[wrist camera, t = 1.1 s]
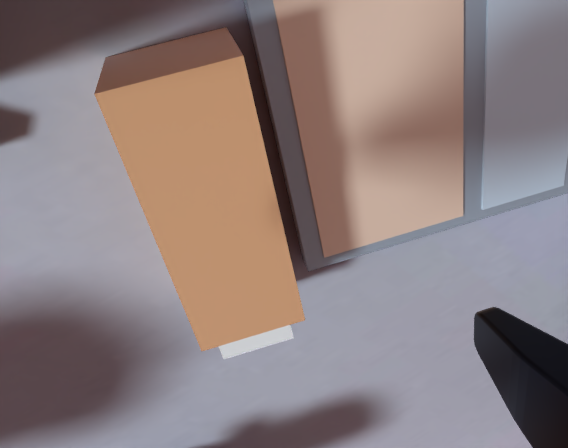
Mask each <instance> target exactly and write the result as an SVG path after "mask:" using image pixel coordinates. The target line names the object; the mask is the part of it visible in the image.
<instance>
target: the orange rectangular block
mask: <svg viewBox="0 0 568 448" xmlns="http://www.w3.org/2000/svg"><path fill="white" fill-rule="evenodd" d="M95 97H96V99H97V101H98V104H99V106H100V109H101V111H102V113H103V116H104V118H105V121H106V123H107V125H108V128H109V130H110V133H111V135H112V137H113V140H114V142H115V144H116V147H117V149H118V152H119V154H120V156H121V159H122V161H123V164H124V166H125V168H126V171H127V173H128V176H129V178H130V180H131V183H132V185H133V188H134V190H135V192H136V195H137V197H138V200H139V202H140V204H141V207H142V209H143V212H144V214H145V216H146V219H147V221H148V224H149V226H150V228H151V231H152V233H153V236H154V238H155V240H156V243H157V245H158V248H159V250H160V252H161V255H162V257H163V260H164V262H165V264H166V267H167V269H168V272H169V274H170V276H171V279H172V281H173V284H174V286H175V288H176V291H177V293H178V296H179V298H180V300H181V303H182V305H183V308H184V310H185V312H186V315H187V317H188V319H189V322H190V324H191V327H192V329H193V331H194V334H195V336H196V339H197V341H198V343H199V346H200V348H201V351H205V350H208V349H211V348H215V347H218V346H219V349H220V351H221V354H222V356H223V359H227V358H230V357H234V356H237V355H240V354H244V353H247V352H250V351H253V350H257V349H260V348H263V347H266V346H270V345H273V344H276V343H280V342H283V341H286V340H289V339H293V338H294V337H293V333H292V329H291V324H294V323H297V322H301V321H304V320H305V317H304V313H303V309H302V304H301V300H300V296H299V292H298V287H297V283H296V279H295V274H294V270H293V266H292V262H291V257H290V253H289V249H288V244H287V240H286V236H285V232H284V227H283V223H282V219H281V215H280V210H279V206H278V202H277V197H276V193H275V189H274V185H273V180H272V176H271V172H270V167H269V163H268V159H267V155H266V150H265V146H264V142H263V137H262V133H261V129H260V125H259V120H258V116H257V112H256V107H255V103H254V99H253V95H252V90H251V86H250V82H249V77H248V73H247V69H246V65H245V60H244V56H243V54H242V52H241V51H240V49H239V47H238V46H237V44H236V42H235V41H234V39H233V37H232V36H231V34H230V33H229V31H228V29H227V28H226V27H225V28H221V29H217V30H213V31H209V32H205V33H201V34H197V35H193V36H189V37H185V38H181V39H177V40H173V41H169V42H165V43H161V44H157V45H154V46H150V47H146V48H142V49H138V50H134V51H130V52H126V53H122V54H118V55H114V56H110V57H106V58H105V61H104V65H103V68H102V71H101V74H100V78H99V81H98V84H97V87H96V91H95Z"/></svg>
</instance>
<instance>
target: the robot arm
mask: <svg viewBox="0 0 568 448" xmlns="http://www.w3.org/2000/svg"><path fill="white" fill-rule="evenodd" d="M474 343H475V347H476V350H477V352H478V354H479V356H480V358H481V359H482V361H483V363H484V365H485V367H486V369H487V371H488V372H489V374H490V376H491V378H492V380H493V382H494V384H495V385H496V387H497V389H498V391H499V393H500V395H501V397H502V398H503V400H504V402H505V404H506V406H507V408H508V410H509V411H510V413H511V415H512V417H513V418H514V420H515V422H516V423H517V425H518V426H519V428H520V429H521V431H522V432H523V434H524V435H525V437H526V438H527V440H528V441H529V443H530V444H531V446H532V447H533V448H568V344H566V343H564V342H563V341H561V340H559V339H557V338H555V337H553V336H551V335H549V334H547V333H545V332H543V331H542V330H540V329H538V328H536V327H534V326H532V325H530V324H528V323H526V322H524V321H522V320H520V319H519V318H517V317H515V316H513V315H511V314H509V313H507V312H505V311H503V310H501V309H499V308H496V307H492V308H488V309H485V310H482V311H479V312H477V313H476V314H475V317H474Z"/></svg>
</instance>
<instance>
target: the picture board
mask: <svg viewBox="0 0 568 448" xmlns="http://www.w3.org/2000/svg"><path fill="white" fill-rule="evenodd" d="M244 4H245V8H246V12H247V17H248V21H249V26H250V30H251V34H252V39H253V43H254V47H255V52H256V56H257V60H258V65H259V69H260V73H261V78H262V82H263V87H264V91H265V95H266V100H267V104H268V108H269V113H270V117H271V121H272V126H273V130H274V134H275V139H276V143H277V148H278V152H279V156H280V161H281V165H282V169H283V174H284V178H285V182H286V187H287V191H288V195H289V200H290V204H291V208H292V213H293V217H294V222H295V226H296V230H297V235H298V239H299V243H300V248H301V252H302V256H303V260H304V263H305V265H306V267H307V270H308V271H312V270H315V269H318V268H322V267H325V266H328V265H331V264H335V263H338V262H341V261H345V260H348V259H351V258H355V257H358V256H361V255H365V254H368V253H371V252H374V251H378V250H381V249H384V248H388V247H391V246H394V245H398V244H401V243H404V242H408V241H411V240H414V239H417V238H421V237H424V236H427V235H431V234H434V233H437V232H441V231H444V230H447V229H451V228H454V227H457V226H460V225H464V224H467V223H470V222H474V221H477V220H480V219H484V218H487V217H490V216H494V215H497V214H500V213H503V212H507V211H510V210H513V209H517V208H520V207H523V206H527V205H530V204H533V203H536V202H540V201H543V200H546V199H550V198H553V197H556V196H560V195H563V194H566V193H568V0H244Z"/></svg>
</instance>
